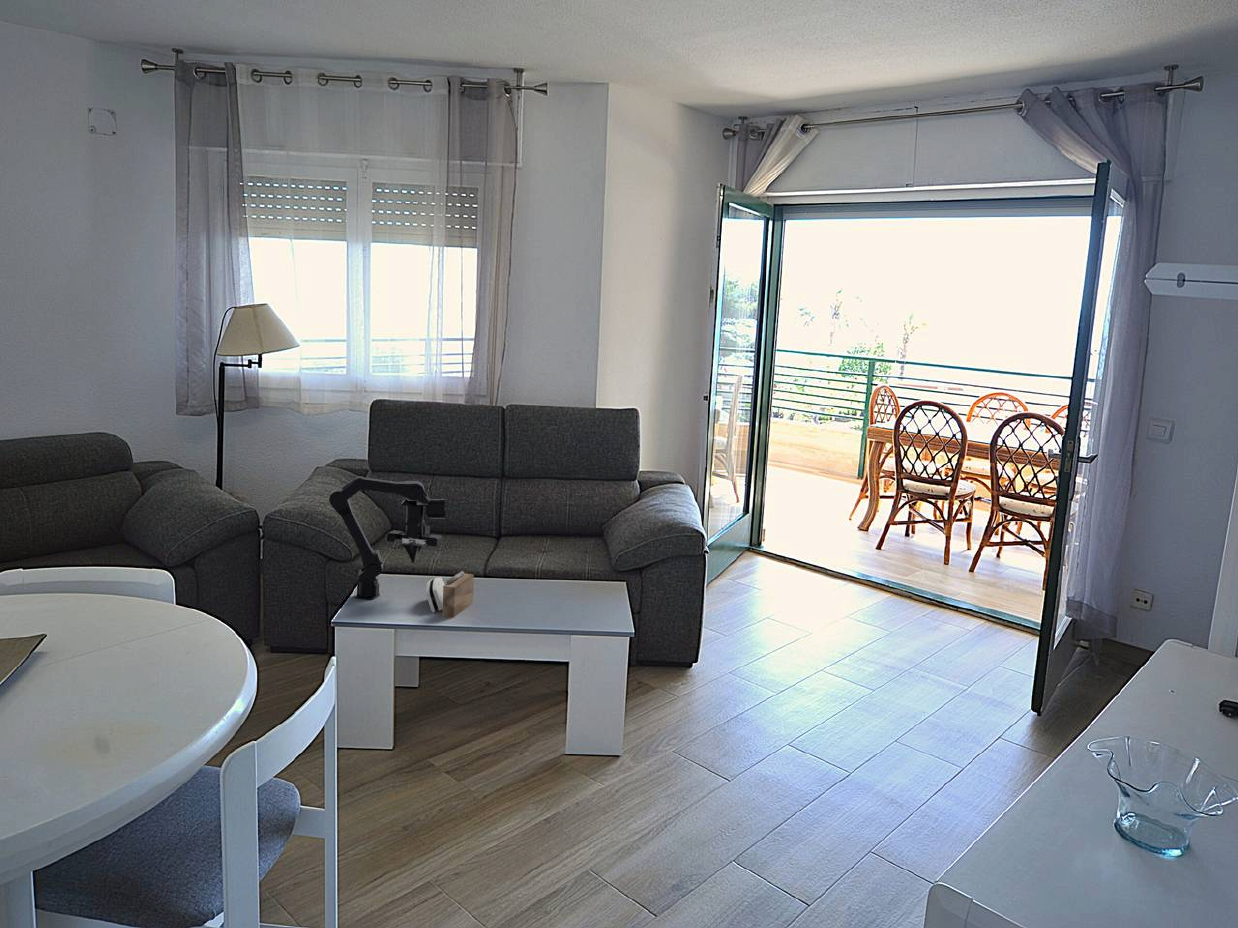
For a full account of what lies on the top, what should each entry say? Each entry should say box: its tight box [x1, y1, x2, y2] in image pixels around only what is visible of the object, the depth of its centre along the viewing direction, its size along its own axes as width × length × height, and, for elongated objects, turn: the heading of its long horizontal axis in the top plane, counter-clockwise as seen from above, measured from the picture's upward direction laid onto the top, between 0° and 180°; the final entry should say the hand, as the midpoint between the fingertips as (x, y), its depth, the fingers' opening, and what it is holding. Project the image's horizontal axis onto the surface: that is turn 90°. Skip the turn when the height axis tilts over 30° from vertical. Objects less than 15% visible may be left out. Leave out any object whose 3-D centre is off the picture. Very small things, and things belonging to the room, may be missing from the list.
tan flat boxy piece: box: [441, 570, 475, 618], centre depth 312 cm, size 4×17×11 cm, turn 168°
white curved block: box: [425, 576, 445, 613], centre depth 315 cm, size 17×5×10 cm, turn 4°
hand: (413, 562), depth 322 cm, fingers closed
